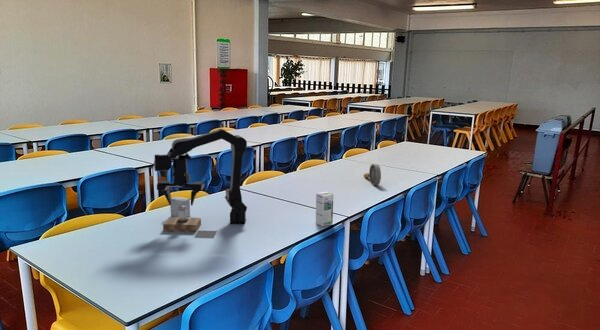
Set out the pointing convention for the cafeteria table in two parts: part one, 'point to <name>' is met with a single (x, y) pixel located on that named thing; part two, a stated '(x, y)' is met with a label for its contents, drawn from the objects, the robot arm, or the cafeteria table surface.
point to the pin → (182, 213)
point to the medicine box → (178, 202)
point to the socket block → (181, 225)
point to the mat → (205, 234)
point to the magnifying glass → (374, 174)
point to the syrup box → (324, 208)
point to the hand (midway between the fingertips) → (181, 205)
